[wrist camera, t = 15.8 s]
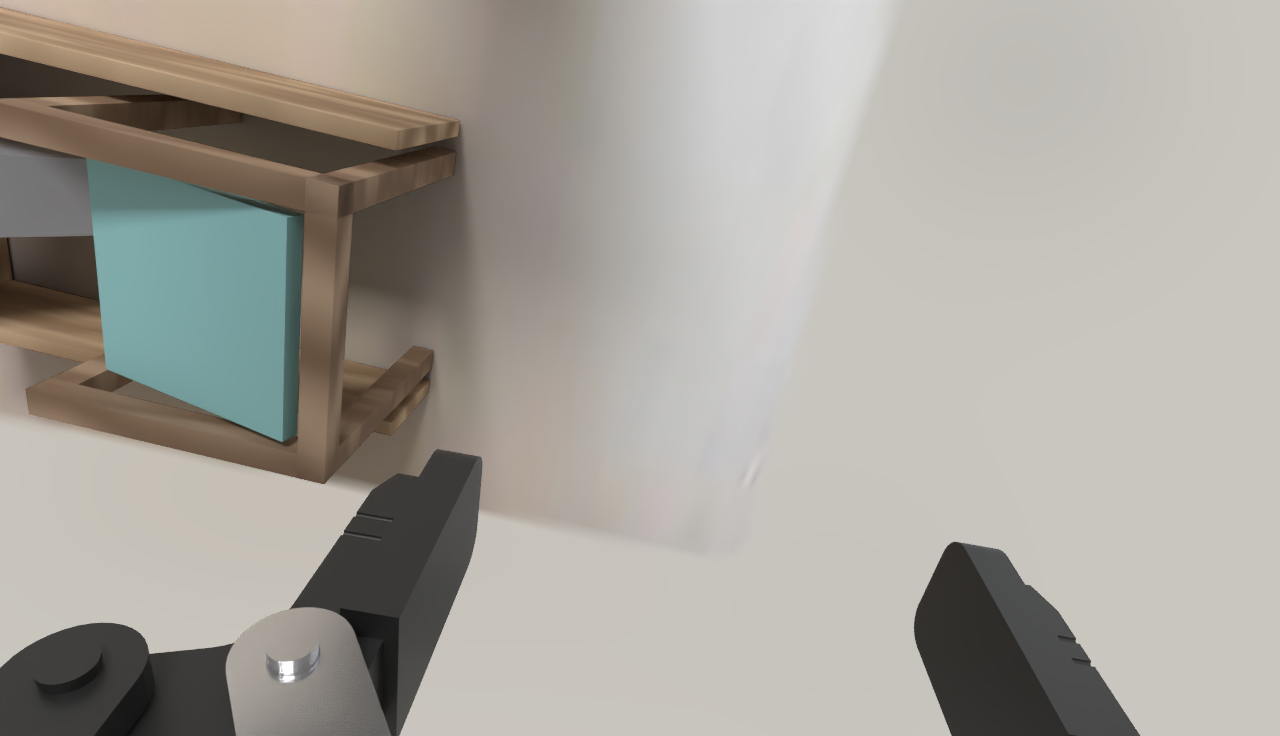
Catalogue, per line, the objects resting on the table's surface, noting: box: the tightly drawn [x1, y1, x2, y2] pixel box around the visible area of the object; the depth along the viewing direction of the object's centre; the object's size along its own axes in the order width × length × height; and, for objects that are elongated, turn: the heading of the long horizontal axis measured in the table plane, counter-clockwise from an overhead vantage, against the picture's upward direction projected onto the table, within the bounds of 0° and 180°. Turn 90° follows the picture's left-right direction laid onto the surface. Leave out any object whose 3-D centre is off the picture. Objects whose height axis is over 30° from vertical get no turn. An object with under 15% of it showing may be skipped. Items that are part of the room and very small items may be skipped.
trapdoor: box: [86, 158, 303, 442], centre depth 35 cm, size 12×12×1 cm
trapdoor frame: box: [0, 7, 460, 484], centre depth 41 cm, size 20×33×16 cm, turn 77°
